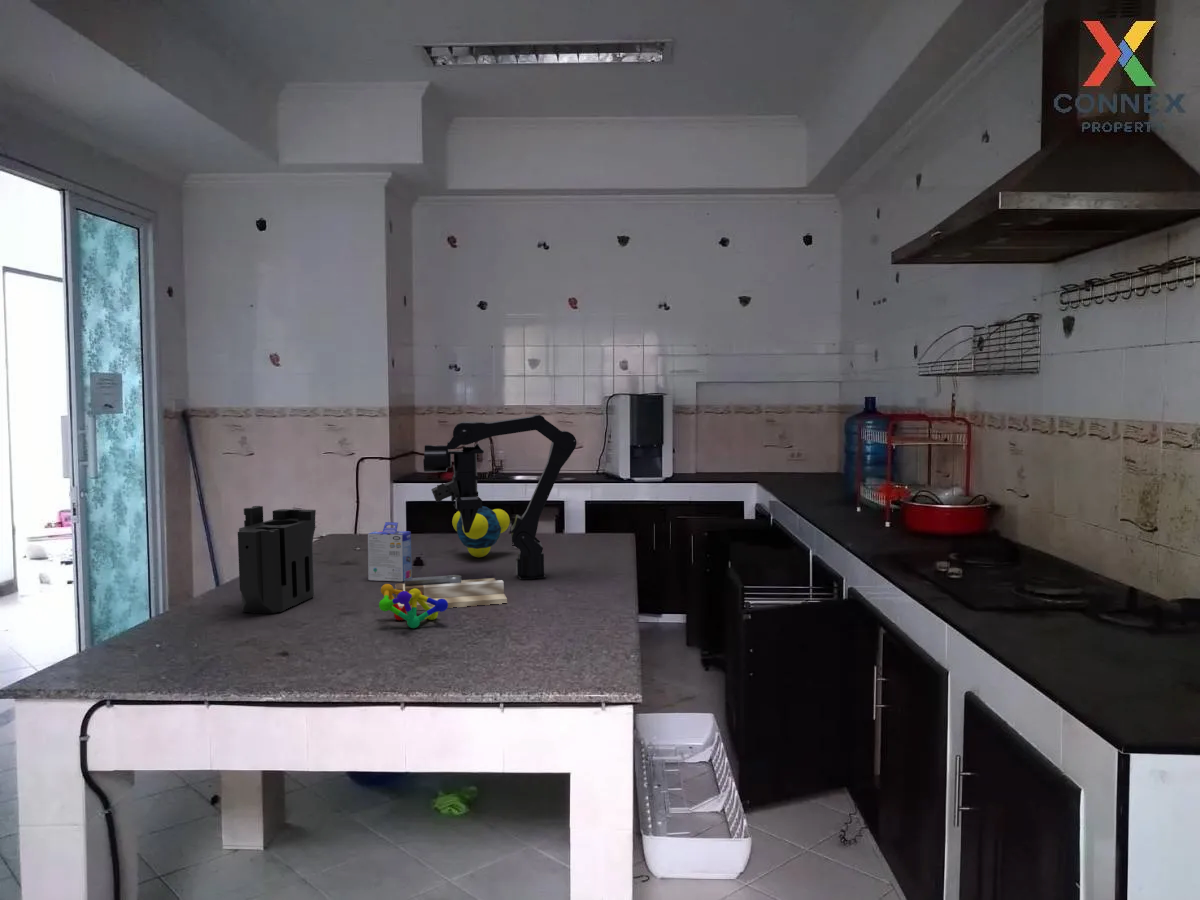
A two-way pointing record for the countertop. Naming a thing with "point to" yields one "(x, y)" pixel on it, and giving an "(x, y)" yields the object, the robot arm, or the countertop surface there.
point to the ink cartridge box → (389, 554)
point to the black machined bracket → (276, 559)
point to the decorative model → (409, 600)
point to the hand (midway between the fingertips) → (466, 532)
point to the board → (467, 598)
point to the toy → (482, 530)
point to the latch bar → (432, 580)
